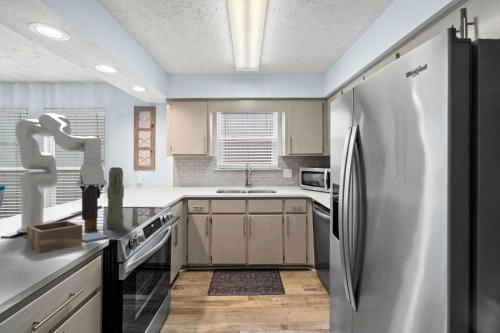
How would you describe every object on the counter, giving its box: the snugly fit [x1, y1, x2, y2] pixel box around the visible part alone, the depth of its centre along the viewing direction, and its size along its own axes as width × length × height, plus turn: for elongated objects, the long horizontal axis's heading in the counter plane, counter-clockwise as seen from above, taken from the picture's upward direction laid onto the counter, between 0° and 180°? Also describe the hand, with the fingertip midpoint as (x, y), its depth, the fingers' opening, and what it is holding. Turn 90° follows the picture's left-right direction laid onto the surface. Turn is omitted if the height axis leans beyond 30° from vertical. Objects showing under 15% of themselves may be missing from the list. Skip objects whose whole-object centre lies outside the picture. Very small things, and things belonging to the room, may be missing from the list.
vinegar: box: [81, 185, 99, 221], centre depth 138 cm, size 7×7×20 cm
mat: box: [82, 231, 109, 243], centre depth 139 cm, size 12×10×1 cm
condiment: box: [82, 218, 103, 233], centre depth 155 cm, size 7×8×12 cm
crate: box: [26, 220, 83, 254], centre depth 126 cm, size 15×16×9 cm
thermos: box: [106, 166, 125, 230], centre depth 163 cm, size 9×12×35 cm
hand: (91, 198), depth 139 cm, fingers closed on vinegar, 4 cm apart
